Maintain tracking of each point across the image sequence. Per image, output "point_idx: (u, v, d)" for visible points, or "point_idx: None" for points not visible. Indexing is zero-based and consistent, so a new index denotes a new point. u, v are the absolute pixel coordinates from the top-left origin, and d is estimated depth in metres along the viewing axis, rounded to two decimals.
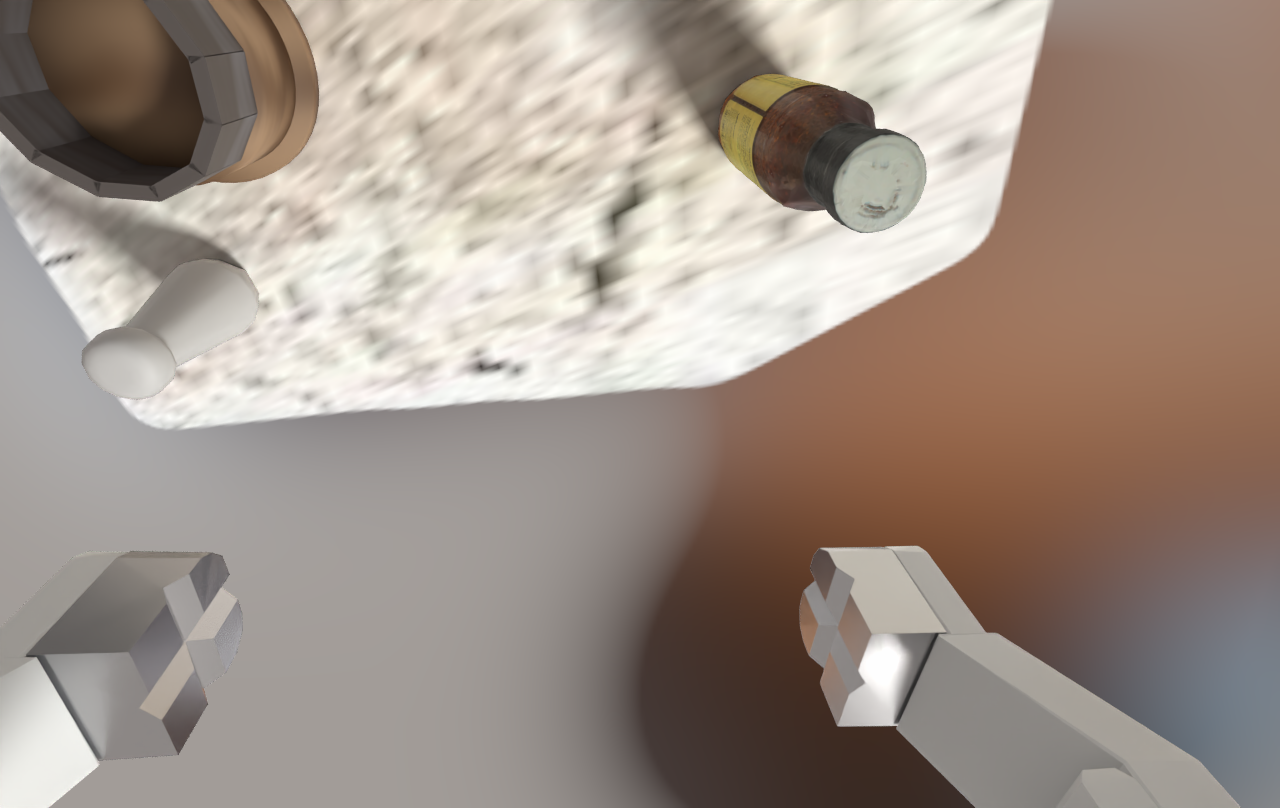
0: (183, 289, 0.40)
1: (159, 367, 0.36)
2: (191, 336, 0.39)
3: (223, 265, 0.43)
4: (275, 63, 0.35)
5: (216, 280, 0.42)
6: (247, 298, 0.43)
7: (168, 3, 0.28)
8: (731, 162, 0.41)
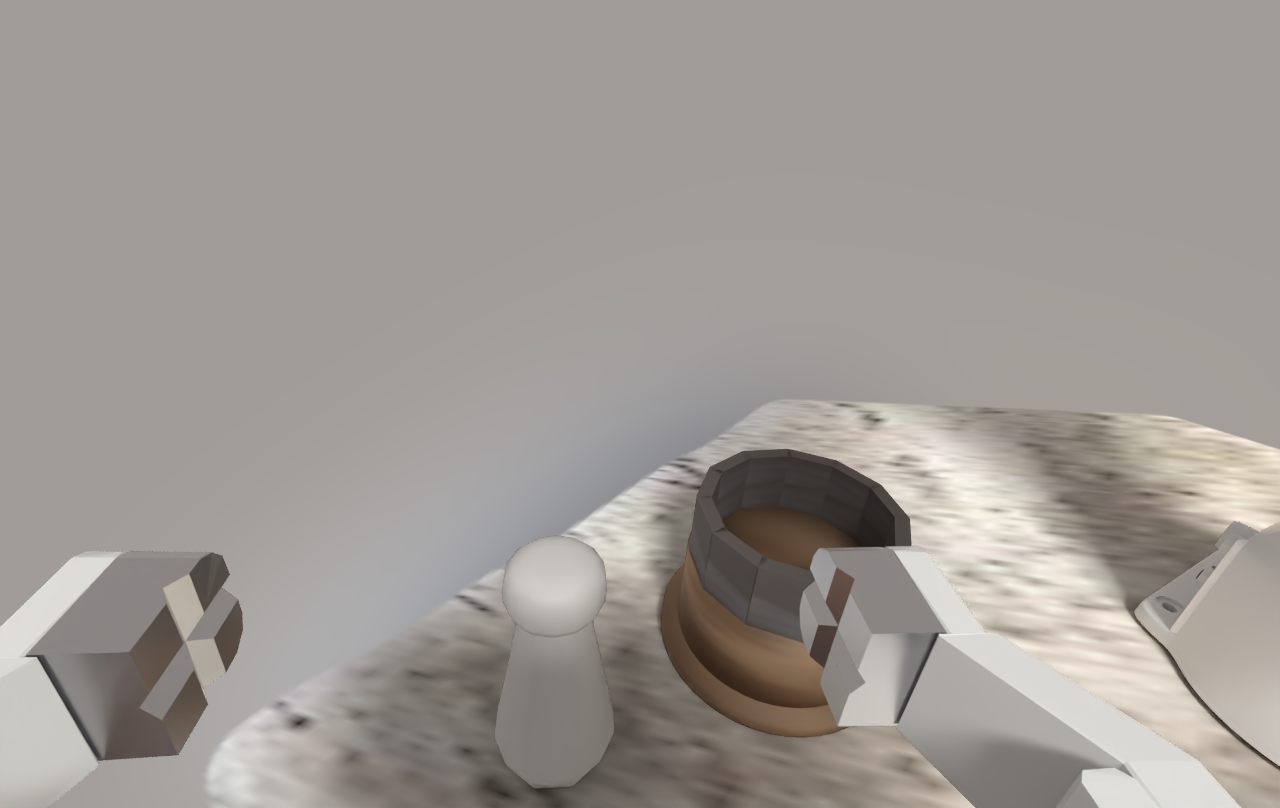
0: None
1: (588, 600, 0.24)
2: (582, 662, 0.26)
3: None
4: None
5: (609, 701, 0.30)
6: (597, 750, 0.28)
7: None
8: None
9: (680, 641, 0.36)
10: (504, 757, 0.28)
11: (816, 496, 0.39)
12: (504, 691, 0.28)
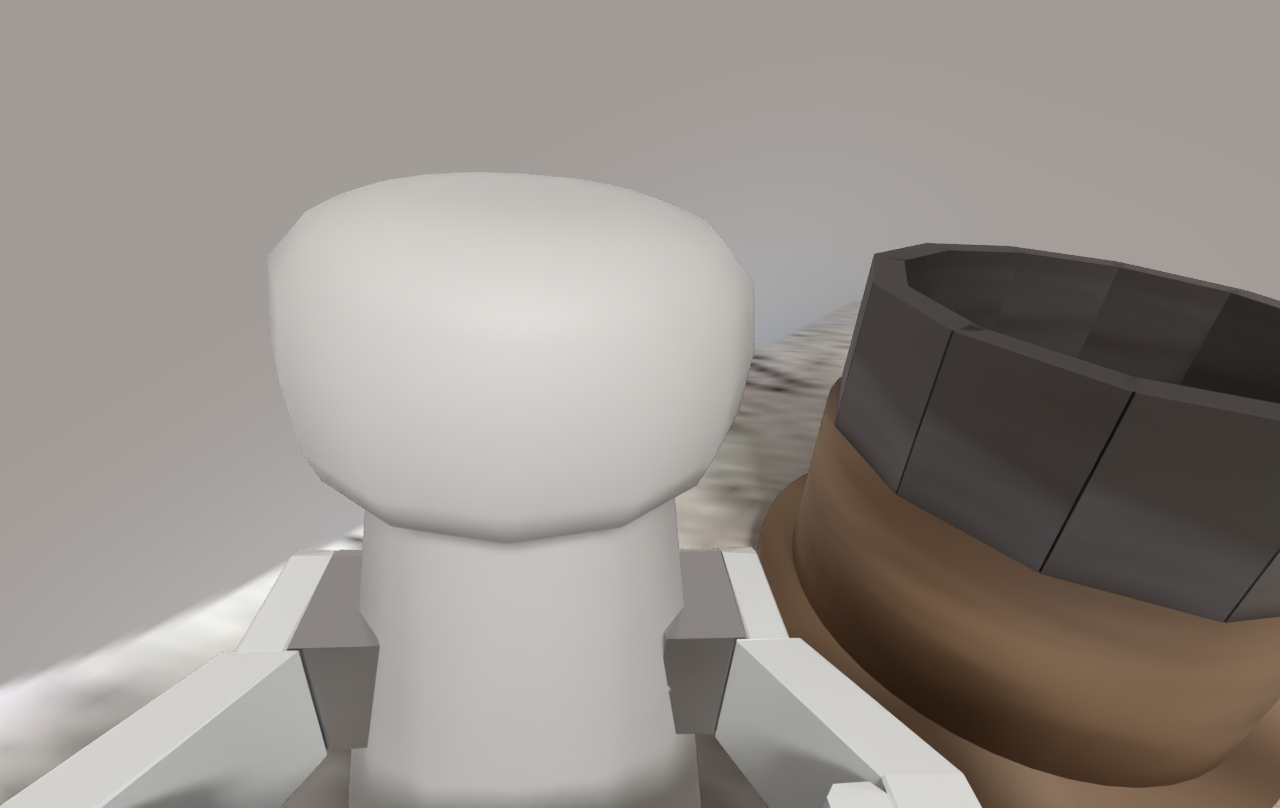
0: None
1: (699, 337, 0.04)
2: (634, 672, 0.06)
3: None
4: None
5: None
6: None
7: None
8: None
9: (813, 627, 0.17)
10: None
11: (1067, 339, 0.19)
12: (353, 772, 0.08)
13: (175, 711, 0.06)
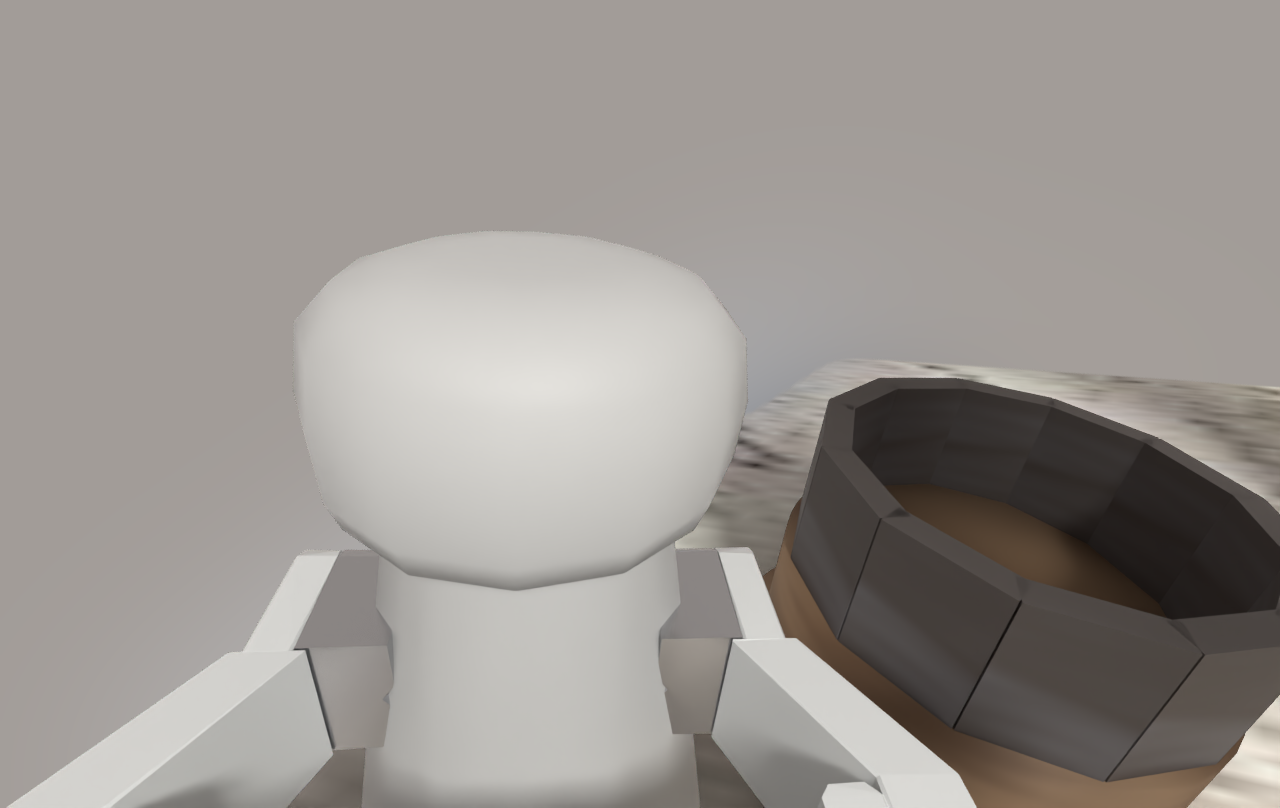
0: None
1: (694, 398, 0.05)
2: (636, 704, 0.07)
3: None
4: None
5: None
6: None
7: None
8: None
9: None
10: None
11: (1008, 464, 0.21)
12: (365, 800, 0.08)
13: (182, 711, 0.06)
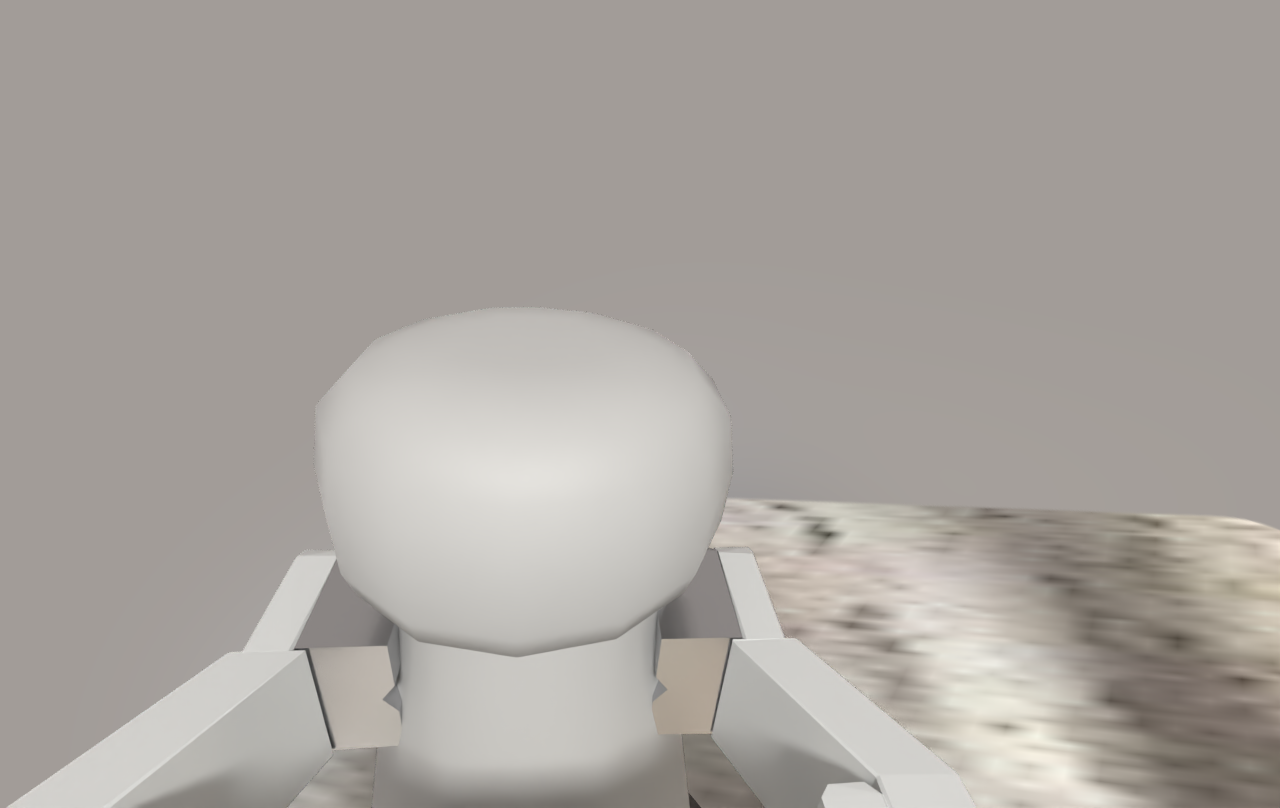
0: None
1: (680, 483, 0.05)
2: (629, 752, 0.07)
3: None
4: None
5: None
6: None
7: None
8: None
9: None
10: None
11: None
12: None
13: (183, 711, 0.06)
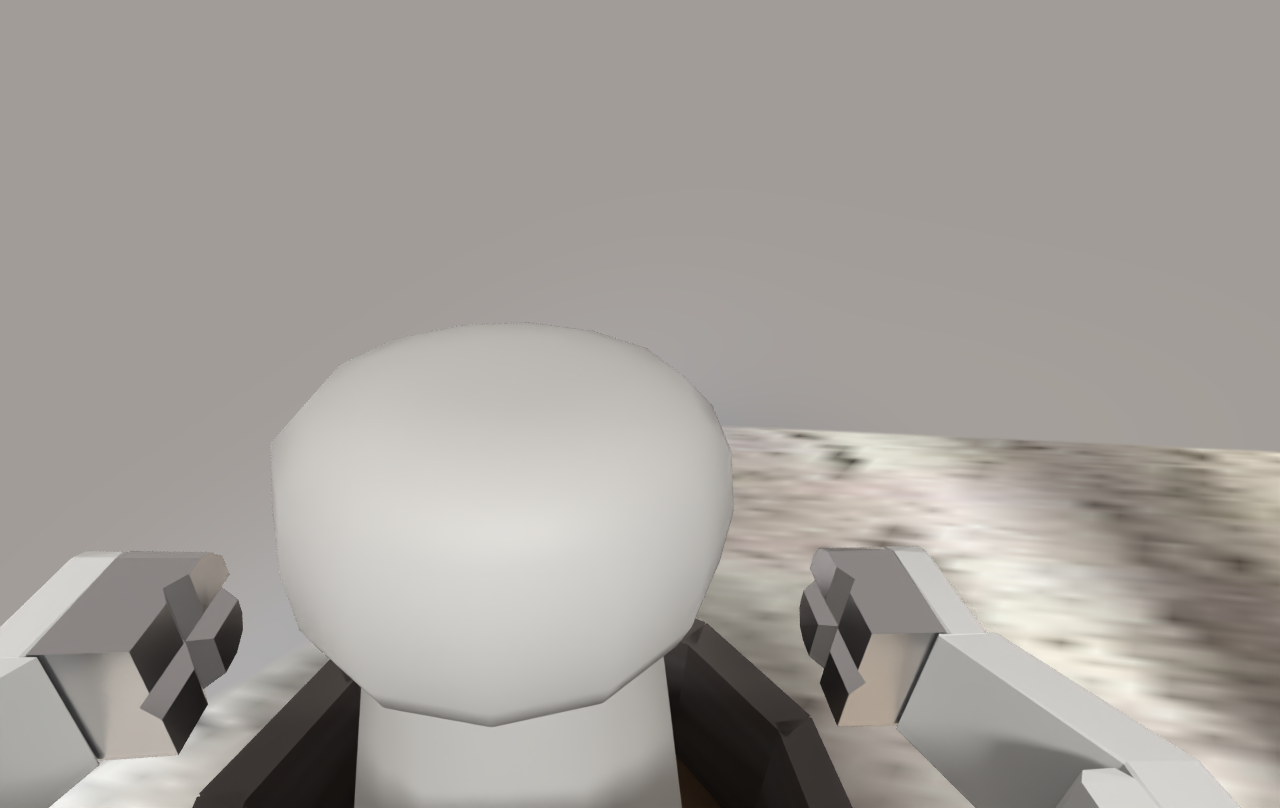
0: None
1: (673, 537, 0.05)
2: (620, 802, 0.07)
3: None
4: None
5: None
6: None
7: None
8: None
9: None
10: None
11: None
12: None
13: None
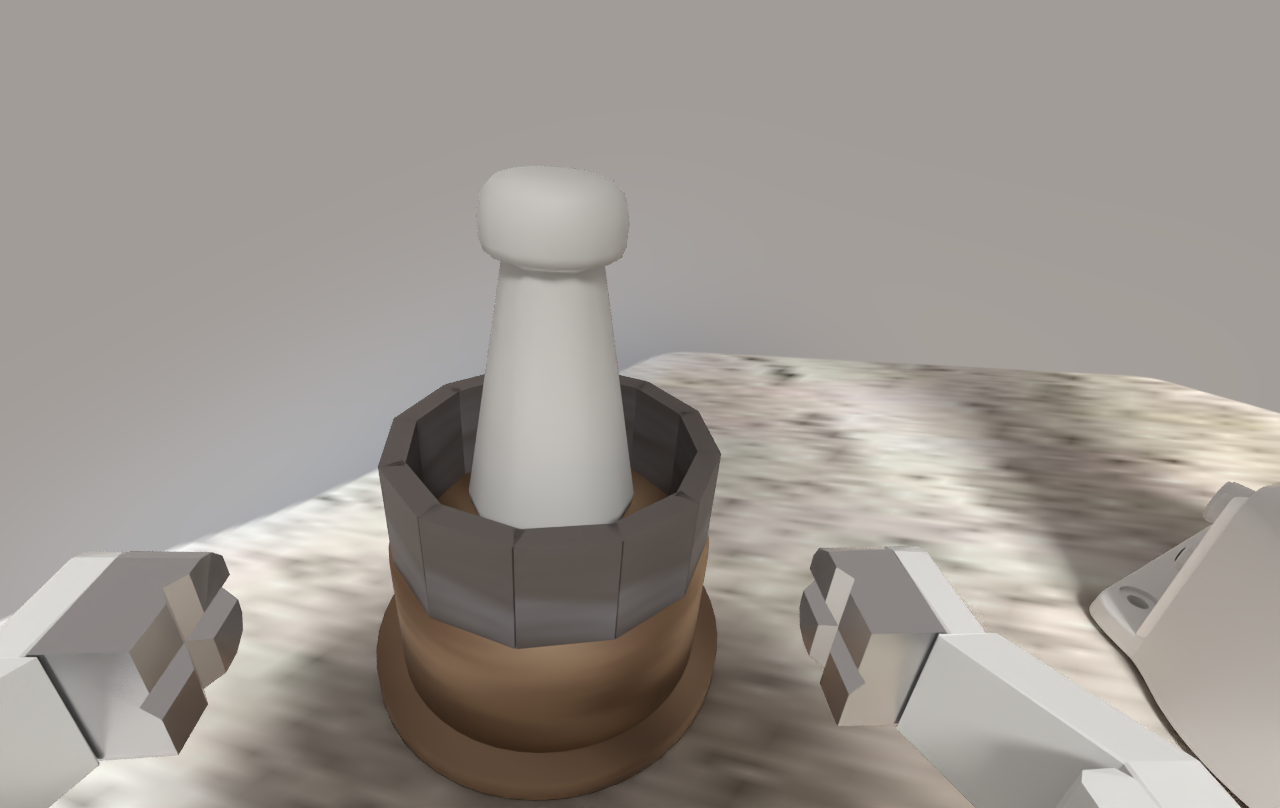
0: None
1: (603, 210, 0.16)
2: (591, 344, 0.18)
3: None
4: (664, 668, 0.22)
5: None
6: (610, 503, 0.20)
7: (715, 470, 0.21)
8: None
9: (395, 646, 0.24)
10: (481, 509, 0.20)
11: None
12: (481, 410, 0.20)
13: None
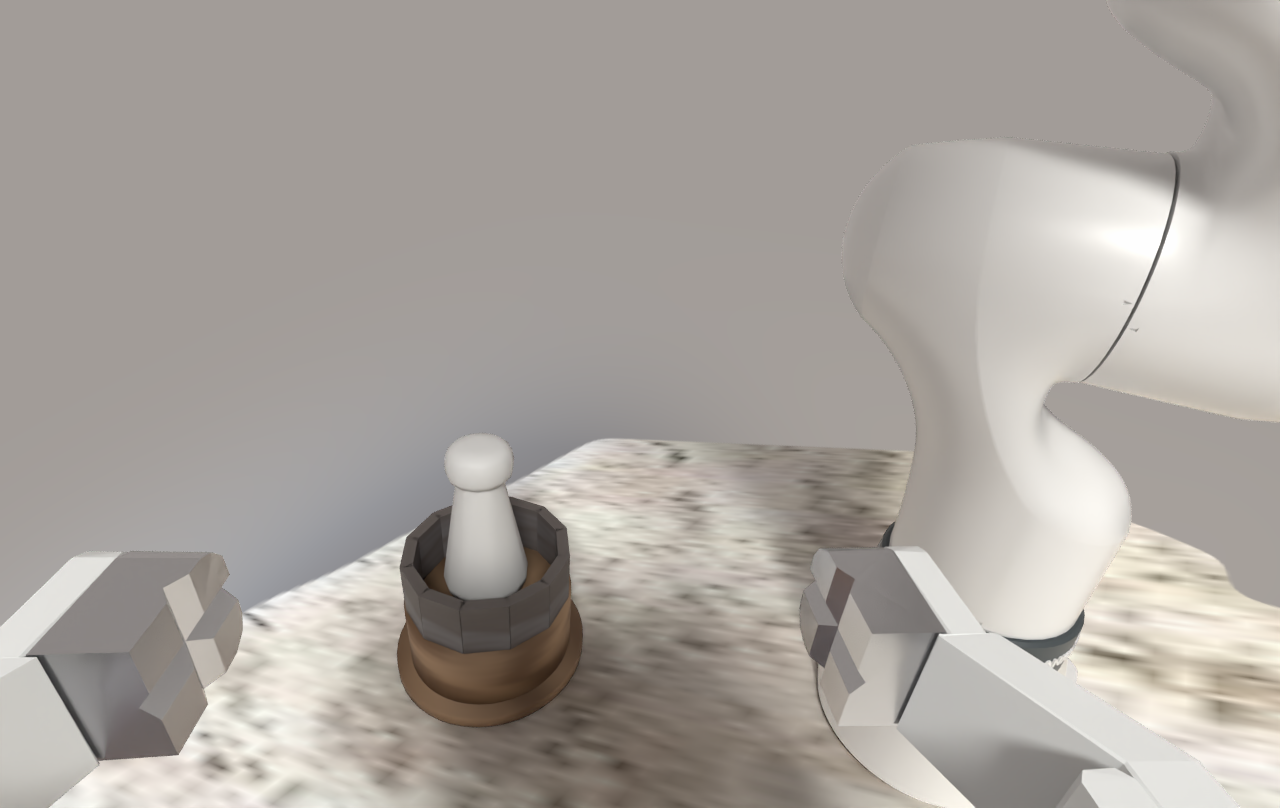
0: (515, 525, 0.43)
1: (497, 467, 0.38)
2: (497, 515, 0.40)
3: None
4: (541, 663, 0.43)
5: (523, 554, 0.43)
6: (511, 583, 0.42)
7: (565, 565, 0.43)
8: None
9: (406, 651, 0.46)
10: (449, 586, 0.42)
11: (532, 534, 0.48)
12: (448, 540, 0.41)
13: None
